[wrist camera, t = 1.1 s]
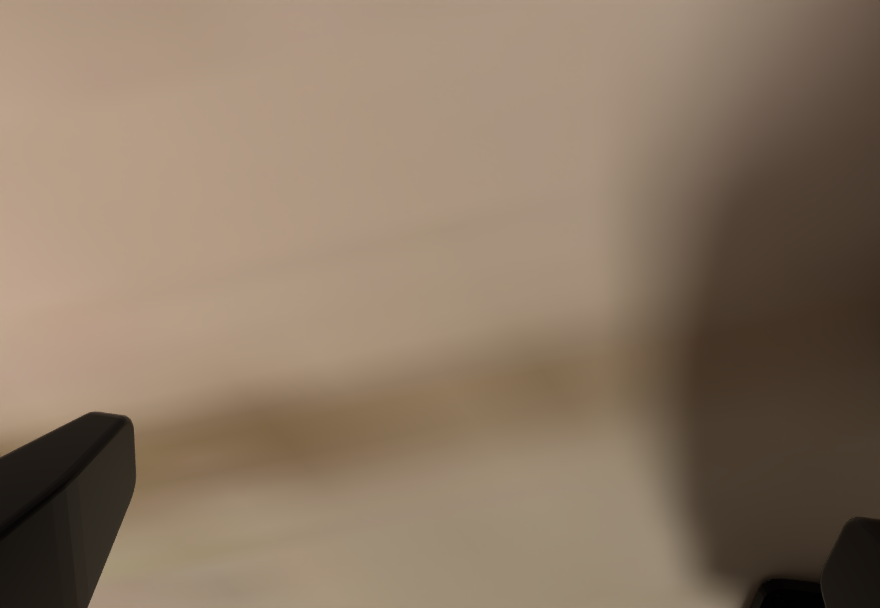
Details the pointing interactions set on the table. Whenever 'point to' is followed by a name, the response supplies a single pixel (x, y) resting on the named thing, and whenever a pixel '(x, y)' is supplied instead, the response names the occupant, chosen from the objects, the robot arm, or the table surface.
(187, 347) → the table surface
